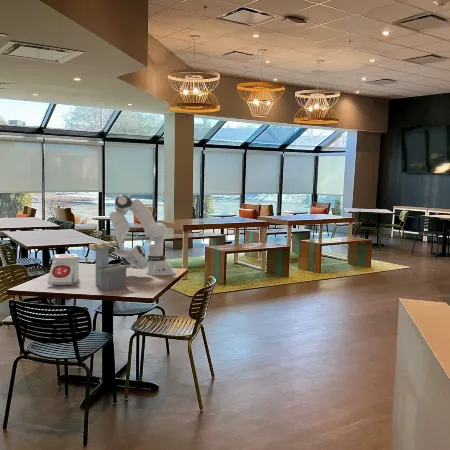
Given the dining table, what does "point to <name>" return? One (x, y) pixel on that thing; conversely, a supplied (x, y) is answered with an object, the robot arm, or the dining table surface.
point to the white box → (64, 269)
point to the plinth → (101, 262)
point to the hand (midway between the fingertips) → (120, 249)
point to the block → (102, 245)
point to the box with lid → (113, 276)
